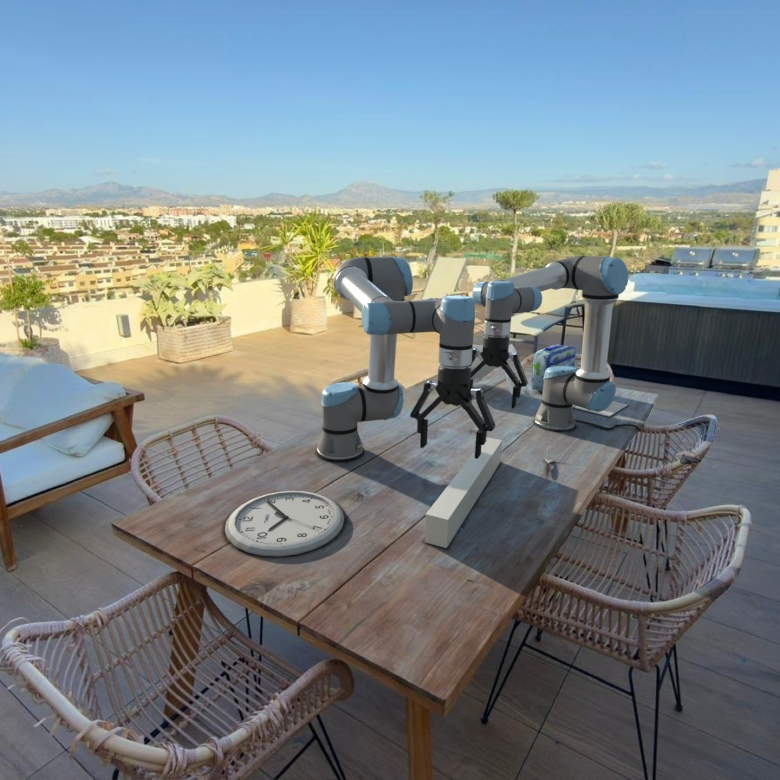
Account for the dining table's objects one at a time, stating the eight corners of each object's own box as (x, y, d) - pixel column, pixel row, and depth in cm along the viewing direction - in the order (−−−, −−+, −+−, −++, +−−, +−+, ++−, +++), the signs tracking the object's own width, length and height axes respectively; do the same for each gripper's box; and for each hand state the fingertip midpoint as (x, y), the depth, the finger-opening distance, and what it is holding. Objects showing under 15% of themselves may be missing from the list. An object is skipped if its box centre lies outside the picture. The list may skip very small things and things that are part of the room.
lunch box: (547, 397, 237) (552, 352, 231) (526, 391, 245) (531, 348, 238) (574, 386, 255) (580, 344, 249) (554, 381, 262) (559, 340, 256)
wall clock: (344, 547, 121) (211, 552, 118) (344, 554, 121) (212, 558, 119) (344, 486, 149) (237, 489, 147) (344, 491, 150) (237, 494, 147)
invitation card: (608, 416, 214) (573, 407, 224) (608, 416, 214) (573, 408, 224) (628, 404, 229) (594, 396, 238) (628, 405, 229) (594, 397, 238)
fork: (541, 476, 161) (542, 470, 161) (545, 456, 176) (546, 450, 175) (550, 477, 161) (551, 471, 160) (553, 457, 175) (554, 451, 174)
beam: (483, 458, 173) (485, 437, 171) (500, 462, 171) (502, 440, 169) (424, 542, 127) (425, 514, 124) (446, 548, 124) (448, 519, 122)
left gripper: (398, 362, 120) (396, 447, 127) (505, 376, 111) (497, 467, 117) (410, 355, 127) (408, 436, 133) (513, 368, 117) (505, 455, 123)
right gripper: (451, 333, 155) (448, 401, 161) (537, 342, 145) (530, 414, 151) (459, 329, 161) (455, 394, 167) (542, 337, 151) (535, 406, 158)
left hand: (450, 451), depth 125 cm, fingers open, 13 cm apart
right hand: (491, 404), depth 159 cm, fingers open, 13 cm apart
